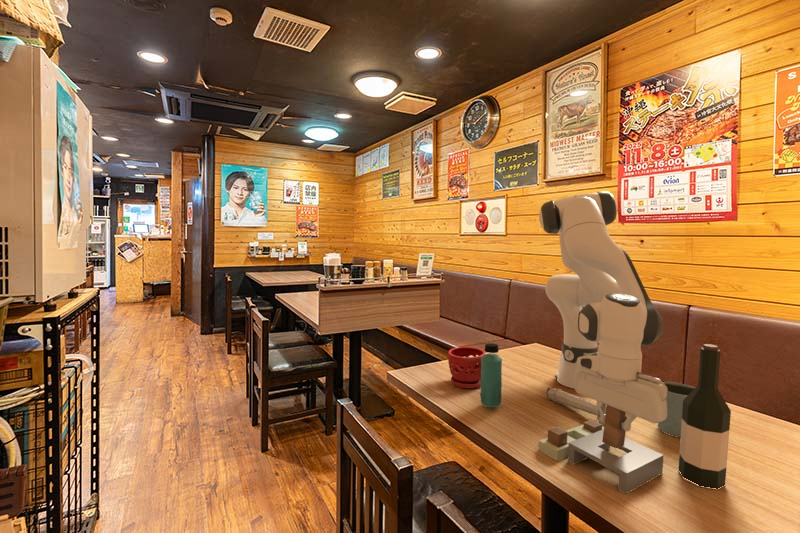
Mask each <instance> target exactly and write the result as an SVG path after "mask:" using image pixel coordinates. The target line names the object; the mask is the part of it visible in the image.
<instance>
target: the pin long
mask: <svg viewBox="0 0 800 533" xmlns="http://www.w3.org/2000/svg"><path fill="white" fill-rule="evenodd" d="M606 406H607V407H606V415H605V423H604V432H603V440H602V442H603V443H605V444H607V445H609V446H610V448H611V447H612V448H614V449H618V448H619V447H623V446H624V441H625V438H626V432H627V431H624V430H622V429H620V426H621V425H620V422H621V421H623V420H626V419H627V418H628V417H626V416H625V412H624V411H621V410H619V409H616V408H614V407H611V406H609V405H606Z"/></svg>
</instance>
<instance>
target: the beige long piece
mask: <svg viewBox="0 0 800 533" xmlns="http://www.w3.org/2000/svg"><path fill="white" fill-rule="evenodd" d="M545 394H546V398H547V399H548V400H551V401H552V402H555V403H556V404H561V405H563V406H567V407H570V408H574V409H576V410H579V411H582V412H585V413H587V414H592V415H595V416H596V421H598V423H600V424H602V426H603V427H604V423H605V422H604V421H602V420H601V413H600V411H599V409H598V407H597V402H596V403H595V402H593V401H590V400H587V399H585V398H582V397H580V396H577V395H575V394H572V393H569V392H567V391H564V390H562V389H561V388H555V387H548V388H547V390H546V392H545ZM606 407H607V405H606Z"/></svg>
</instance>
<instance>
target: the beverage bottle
mask: <svg viewBox="0 0 800 533" xmlns="http://www.w3.org/2000/svg"><path fill="white" fill-rule="evenodd" d="M484 351H485V355H484V356H482V358H481V379H480V382H481V386H480V397H479V399H480V404H481V405H483V406H485V407H488V408H498V407H500V406H501V405H502V399H503V398H502V384H503V377H502V376H503V374H502V373H503V371H502V370H503V369H502V368H503V367H502V365H503V364H502V362H503V360H502V359H503V358H502V357H501V356H500V355H499V354H498V353H499V345H498V344H497V343H492V342H491V343H490V342H489V343H485V345H484Z"/></svg>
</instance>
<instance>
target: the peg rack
mask: <svg viewBox="0 0 800 533" xmlns="http://www.w3.org/2000/svg"><path fill="white" fill-rule="evenodd" d="M583 427H584V423H583V424H581V425H578V426H575V427H573V428H569V429H568V430H566V431H567V432H568V433H567V444H566V445H564V446H561V447H559V448H558V447H557V446H555V445H553V444H551V443H549V442H548V441H547V439H548V436H547V437H545V438H542V439H540V440H538V451H539V452H541V453H543V455H546V456H547V457H549V458H551V459H553V460H554V461H556V462H558V461H560V460H562V459H564V458H568V448H569V442H572V441H574V440H577V439H579V438H582V437H585V436H587V435H590V434H592V433H593V432H591V431H589V430H587V429H584V428H583ZM603 429H604V427H603V426H602V430H603Z"/></svg>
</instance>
